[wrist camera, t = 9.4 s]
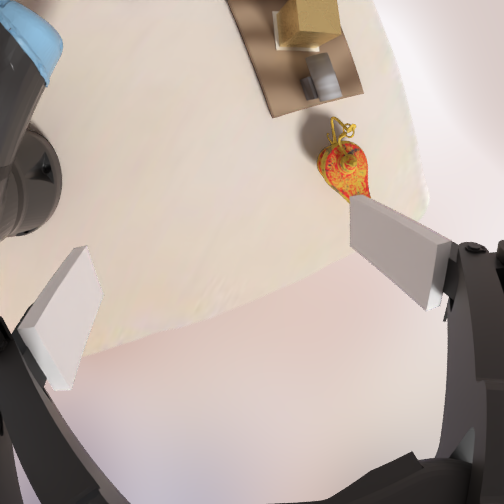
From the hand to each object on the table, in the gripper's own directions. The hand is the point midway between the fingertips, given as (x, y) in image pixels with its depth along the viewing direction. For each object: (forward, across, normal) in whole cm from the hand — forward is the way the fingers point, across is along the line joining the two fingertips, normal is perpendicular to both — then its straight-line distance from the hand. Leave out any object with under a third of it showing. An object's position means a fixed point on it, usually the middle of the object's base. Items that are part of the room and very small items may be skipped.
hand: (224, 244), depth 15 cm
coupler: (+26, -15, -17) cm, 35 cm away
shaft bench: (+28, -15, -17) cm, 36 cm away
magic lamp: (+28, -19, +4) cm, 34 cm away
